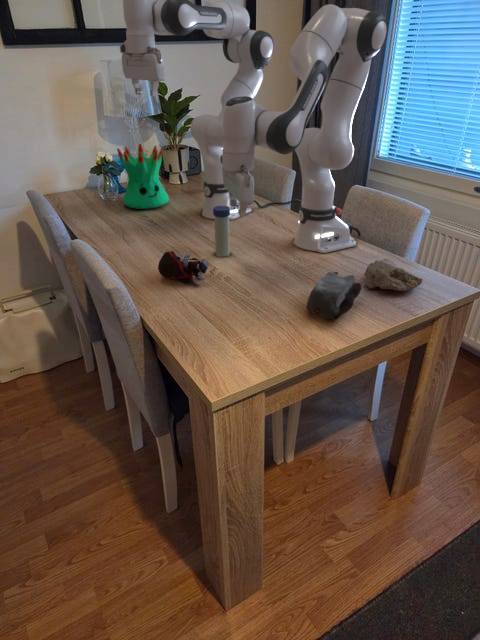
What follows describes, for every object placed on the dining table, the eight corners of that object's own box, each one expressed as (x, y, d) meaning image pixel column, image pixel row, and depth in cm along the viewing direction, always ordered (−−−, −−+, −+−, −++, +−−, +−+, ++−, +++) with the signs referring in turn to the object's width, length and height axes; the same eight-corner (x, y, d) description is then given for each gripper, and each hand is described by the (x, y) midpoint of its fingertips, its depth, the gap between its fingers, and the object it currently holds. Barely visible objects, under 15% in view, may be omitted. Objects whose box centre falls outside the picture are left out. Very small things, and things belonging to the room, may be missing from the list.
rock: (342, 329, 114) (346, 302, 110) (301, 318, 119) (303, 292, 115) (361, 299, 128) (365, 274, 124) (324, 290, 132) (326, 266, 128)
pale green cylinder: (225, 250, 158) (225, 206, 150) (231, 255, 155) (231, 210, 146) (213, 252, 157) (211, 208, 148) (219, 257, 153) (218, 212, 144)
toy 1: (131, 213, 192) (124, 153, 179) (118, 201, 207) (109, 145, 194) (175, 206, 201) (171, 148, 187) (159, 195, 215) (154, 140, 202)
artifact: (382, 302, 128) (424, 295, 132) (389, 280, 123) (432, 273, 128) (348, 271, 141) (387, 266, 146) (354, 250, 137) (393, 246, 142)
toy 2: (200, 245, 129) (156, 241, 134) (191, 274, 126) (147, 269, 132) (215, 264, 140) (174, 259, 145) (207, 291, 137) (165, 286, 142)
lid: (225, 210, 151) (225, 204, 150) (233, 215, 147) (232, 209, 146) (210, 213, 149) (210, 207, 148) (217, 218, 145) (217, 211, 144)
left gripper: (168, 47, 137) (172, 97, 145) (133, 46, 150) (138, 92, 157) (151, 47, 134) (155, 98, 141) (116, 46, 146) (122, 93, 154)
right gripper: (261, 169, 116) (258, 221, 123) (239, 154, 133) (238, 200, 140) (237, 171, 114) (237, 223, 121) (218, 155, 131) (219, 201, 138)
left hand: (146, 95), depth 149 cm, fingers open, 8 cm apart
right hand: (237, 210), depth 131 cm, fingers open, 8 cm apart
